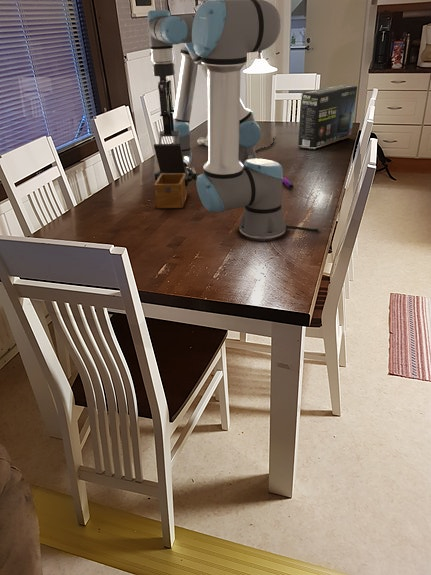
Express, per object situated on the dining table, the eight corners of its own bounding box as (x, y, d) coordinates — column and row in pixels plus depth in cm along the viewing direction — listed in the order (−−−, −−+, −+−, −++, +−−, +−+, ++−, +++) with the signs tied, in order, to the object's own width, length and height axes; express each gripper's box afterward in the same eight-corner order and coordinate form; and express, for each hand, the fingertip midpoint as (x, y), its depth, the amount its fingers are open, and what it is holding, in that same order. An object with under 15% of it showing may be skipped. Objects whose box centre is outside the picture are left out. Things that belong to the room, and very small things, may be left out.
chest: (182, 208, 170) (180, 184, 166) (156, 208, 171) (154, 184, 166) (186, 195, 182) (185, 173, 178) (163, 196, 183) (160, 173, 178)
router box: (314, 151, 231) (318, 94, 217) (296, 148, 237) (299, 92, 224) (352, 138, 251) (358, 85, 238) (335, 135, 258) (340, 83, 245)
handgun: (261, 176, 200) (261, 171, 199) (278, 174, 201) (278, 169, 200) (275, 191, 183) (275, 186, 182) (294, 188, 184) (294, 184, 183)
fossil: (220, 142, 238) (201, 123, 241) (210, 159, 244) (191, 141, 248) (238, 140, 252) (219, 123, 255) (227, 157, 258) (210, 139, 261)
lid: (180, 145, 164) (181, 127, 168) (153, 146, 165) (156, 127, 169) (185, 172, 177) (186, 154, 181) (160, 173, 178) (162, 155, 182)
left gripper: (206, 174, 197) (201, 192, 178) (155, 175, 199) (145, 192, 180) (205, 156, 193) (200, 173, 174) (153, 157, 195) (143, 173, 176)
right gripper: (156, 60, 165) (163, 128, 176) (147, 65, 149) (154, 138, 161) (177, 60, 164) (182, 127, 176) (169, 64, 149) (175, 138, 160)
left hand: (172, 183), depth 177 cm, fingers closed on chest, 10 cm apart
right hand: (169, 132), depth 168 cm, fingers open, 5 cm apart
